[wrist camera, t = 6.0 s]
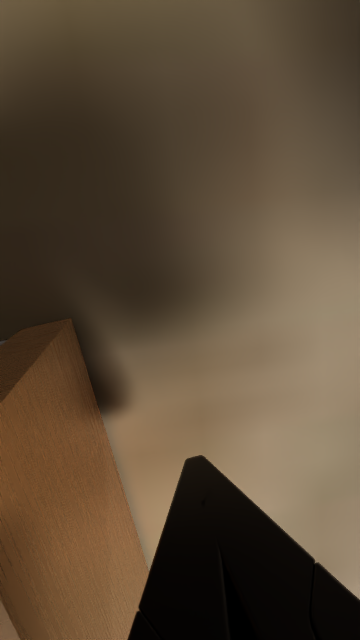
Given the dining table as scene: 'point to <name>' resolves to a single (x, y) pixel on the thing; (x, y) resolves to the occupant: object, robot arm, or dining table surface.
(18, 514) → the rectangular wooden block
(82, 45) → the dining table surface
